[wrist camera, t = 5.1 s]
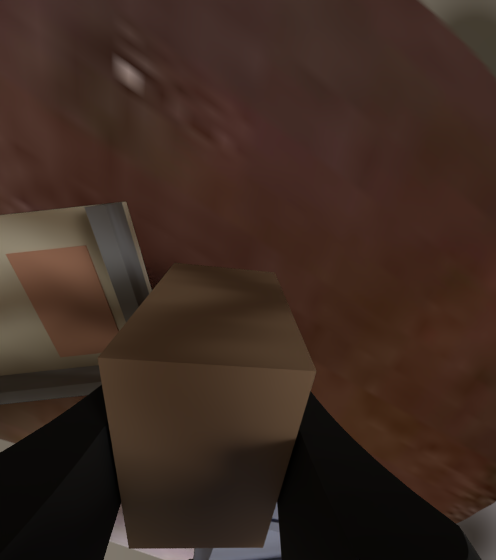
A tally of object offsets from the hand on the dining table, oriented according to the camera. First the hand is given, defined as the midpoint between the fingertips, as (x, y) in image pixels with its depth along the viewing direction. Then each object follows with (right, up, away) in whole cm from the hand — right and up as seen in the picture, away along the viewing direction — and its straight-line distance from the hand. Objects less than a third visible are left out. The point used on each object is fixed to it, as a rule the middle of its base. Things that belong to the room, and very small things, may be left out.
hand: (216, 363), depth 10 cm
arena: (-14, +2, +8) cm, 16 cm away
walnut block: (0, +1, +2) cm, 2 cm away
